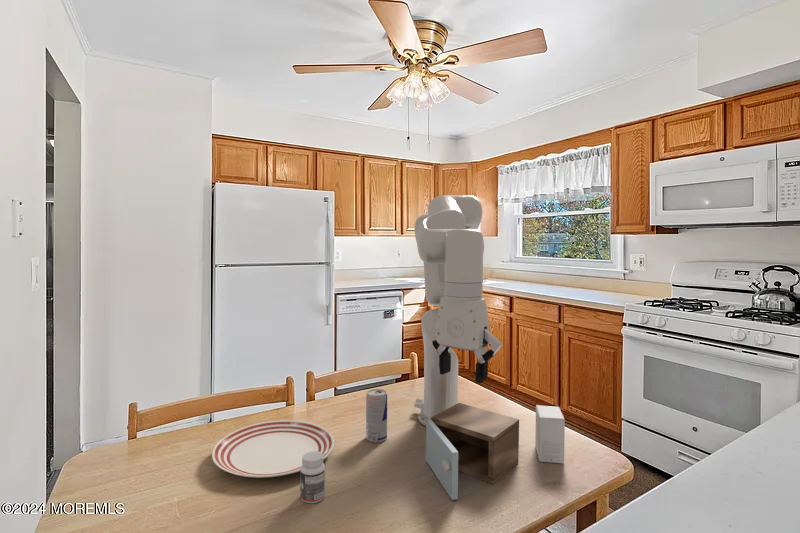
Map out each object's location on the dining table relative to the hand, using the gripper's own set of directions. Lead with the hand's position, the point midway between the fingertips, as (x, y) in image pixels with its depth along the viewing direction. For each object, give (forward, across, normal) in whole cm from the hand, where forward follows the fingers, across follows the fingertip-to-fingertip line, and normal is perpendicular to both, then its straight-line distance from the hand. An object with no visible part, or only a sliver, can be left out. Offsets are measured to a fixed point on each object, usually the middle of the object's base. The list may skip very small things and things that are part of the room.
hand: (462, 376), depth 88 cm
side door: (+23, -5, -1) cm, 23 cm away
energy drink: (+23, -28, +5) cm, 37 cm away
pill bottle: (+23, -20, -22) cm, 38 cm away
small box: (+23, +9, +25) cm, 35 cm away
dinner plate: (+23, -40, -17) cm, 50 cm away
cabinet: (+23, -3, +11) cm, 26 cm away
